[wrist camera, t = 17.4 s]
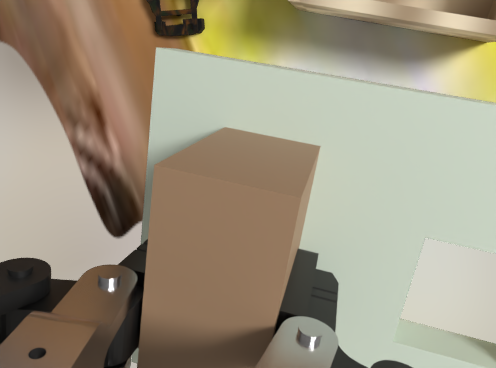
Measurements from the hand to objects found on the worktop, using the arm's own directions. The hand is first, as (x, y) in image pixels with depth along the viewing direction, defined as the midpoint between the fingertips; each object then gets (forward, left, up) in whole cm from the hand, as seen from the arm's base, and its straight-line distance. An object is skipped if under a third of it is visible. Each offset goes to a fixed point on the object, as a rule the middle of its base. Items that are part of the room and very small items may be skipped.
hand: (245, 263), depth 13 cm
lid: (+3, 0, -2) cm, 4 cm away
